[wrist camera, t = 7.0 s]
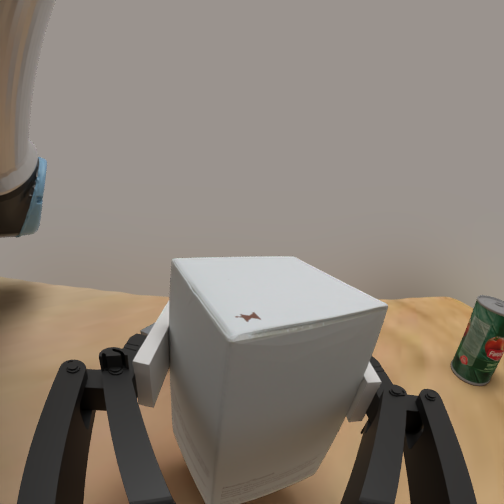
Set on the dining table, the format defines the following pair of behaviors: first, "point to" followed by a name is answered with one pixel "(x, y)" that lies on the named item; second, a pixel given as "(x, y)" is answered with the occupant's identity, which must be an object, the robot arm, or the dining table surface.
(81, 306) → the dining table surface
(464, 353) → the canned tomato
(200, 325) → the supplement box
